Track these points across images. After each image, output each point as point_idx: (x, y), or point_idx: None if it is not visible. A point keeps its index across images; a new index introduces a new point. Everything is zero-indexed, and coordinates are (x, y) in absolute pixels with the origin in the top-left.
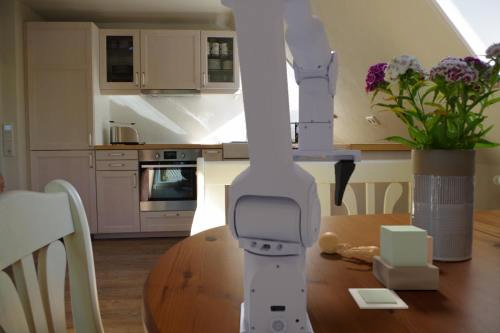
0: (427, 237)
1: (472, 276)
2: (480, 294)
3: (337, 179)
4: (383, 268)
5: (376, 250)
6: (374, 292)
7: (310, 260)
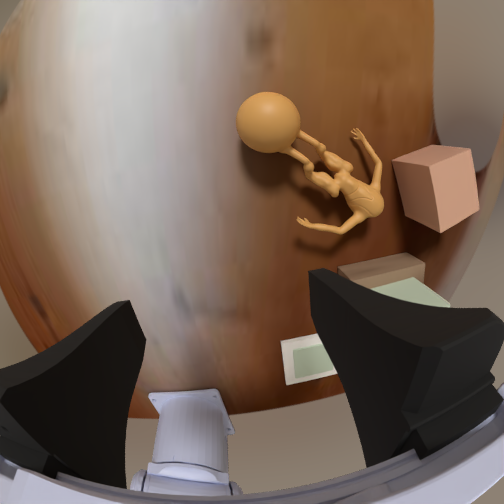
0: (472, 211)
1: (463, 242)
2: None
3: (356, 368)
4: None
5: (374, 216)
6: (314, 353)
7: (214, 189)
